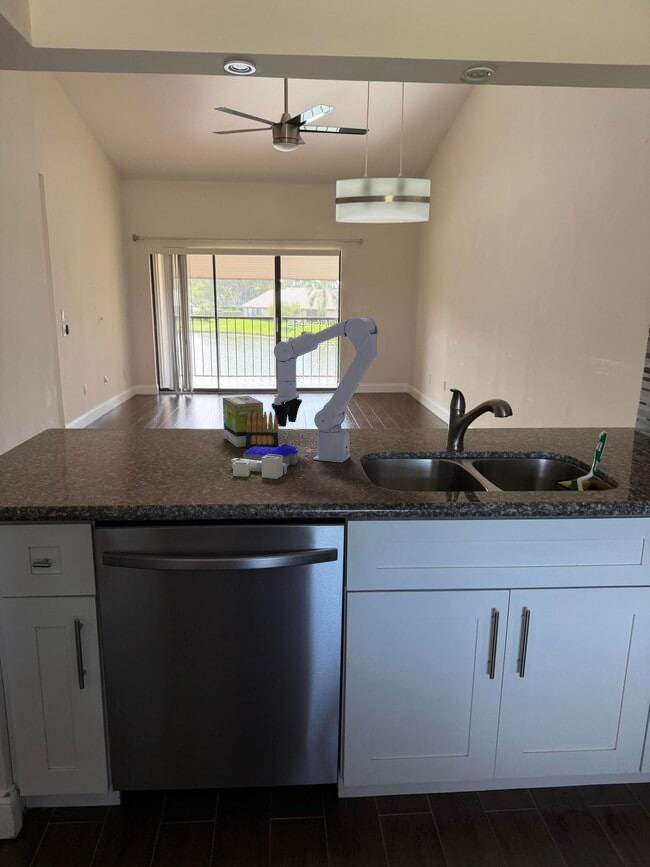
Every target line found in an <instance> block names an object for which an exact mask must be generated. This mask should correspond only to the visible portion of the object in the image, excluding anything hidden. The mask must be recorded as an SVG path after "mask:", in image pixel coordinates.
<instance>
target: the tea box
mask: <svg viewBox="0 0 650 867" xmlns="http://www.w3.org/2000/svg"><path fill="white" fill-rule="evenodd" d="M249 411H250V414H251V424H252V422H253V413H254V411H255V412H256V422H257V423H258V414H259V411H260V412H261V416H262V429H263V416H264V402H263V401H260V400H258V399H256V398H254V397H252V396H250V395H242V396H230V397H229V396H228V397H222V417H223V419H222V420H223V438H224V439H226V440H227V441H229V442H230V443H231V444H232V445H233V446H235V447H236V448H241V447H246V432H247V417H248V412H249ZM251 444H252V439H251Z"/></svg>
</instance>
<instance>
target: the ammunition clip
mask: <svg viewBox="0 0 650 867" xmlns="http://www.w3.org/2000/svg"><path fill="white" fill-rule="evenodd" d="M273 416H274V418H273ZM273 420H274V421H273ZM251 439H252V444H251ZM279 441H280V440H279V424H278V421H277V417H276V414H275V413H274V415H273V413H272V411H269V414H268V416H267V412H266V411H263V429H262V416H261V412H260V411H259V414H258V423H257V422H256V412H255V411H254V413H253V422H252V424H251V414H250V411H249V412H248V417H247V432H246V446H245V448H249V449H250V448H252V447H254V446H256V447H273V448H277V447H278V446H280V442H279Z"/></svg>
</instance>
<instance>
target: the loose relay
mask: <svg viewBox="0 0 650 867" xmlns="http://www.w3.org/2000/svg"><path fill="white" fill-rule="evenodd" d="M232 474H233V475H232V476H233V477H249V475H250V474H251V471H250V462H248V461H235V462H234V463H233V469H232Z"/></svg>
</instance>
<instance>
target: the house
mask: <svg viewBox="0 0 650 867" xmlns="http://www.w3.org/2000/svg"><path fill="white" fill-rule="evenodd" d="M242 454H243V455H242V459H248V460H258V461H262V457H264V456H266V454H276V455H282V456H283V463H285V464H287V468H288V467H289V466H290V465H296V464H297V463H298V461H299V460H298V459H299V450H297V447H296V446H293V445H290V444H287V443H284V444H281V445H279V446H278V447H277V448H273V447H256V446H254V447H252V448H249V449H247V450H245V452H243V453H242Z"/></svg>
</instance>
